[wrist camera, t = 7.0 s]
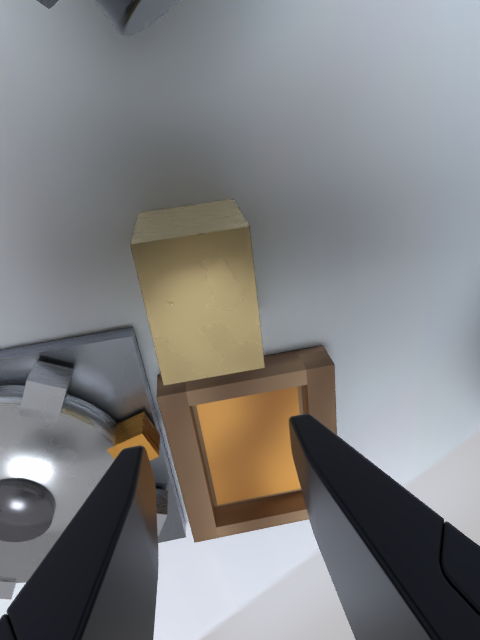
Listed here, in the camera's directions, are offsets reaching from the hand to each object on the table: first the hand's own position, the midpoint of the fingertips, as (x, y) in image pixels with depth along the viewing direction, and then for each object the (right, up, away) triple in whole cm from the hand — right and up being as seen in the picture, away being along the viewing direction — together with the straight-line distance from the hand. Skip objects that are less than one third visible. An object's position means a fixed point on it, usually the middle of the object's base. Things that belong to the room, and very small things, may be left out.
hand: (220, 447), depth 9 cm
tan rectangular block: (-1, +5, +9) cm, 10 cm away
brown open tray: (+1, -3, +13) cm, 13 cm away
